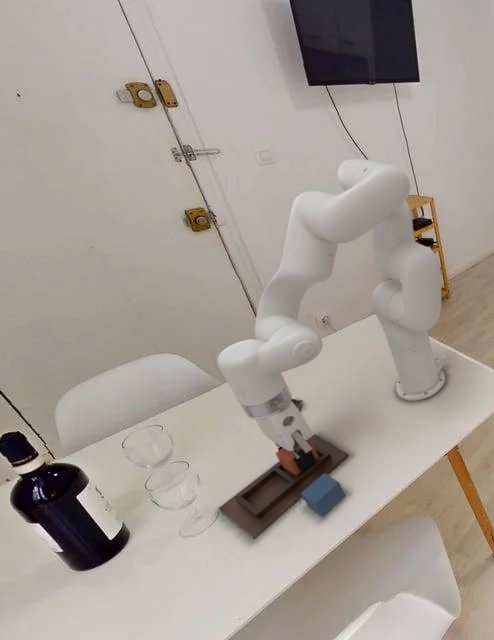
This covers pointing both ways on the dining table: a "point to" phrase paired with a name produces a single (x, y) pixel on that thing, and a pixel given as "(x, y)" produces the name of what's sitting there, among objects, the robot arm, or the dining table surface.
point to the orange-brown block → (288, 460)
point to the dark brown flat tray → (279, 490)
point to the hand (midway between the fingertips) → (300, 459)
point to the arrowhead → (297, 403)
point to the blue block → (323, 494)
